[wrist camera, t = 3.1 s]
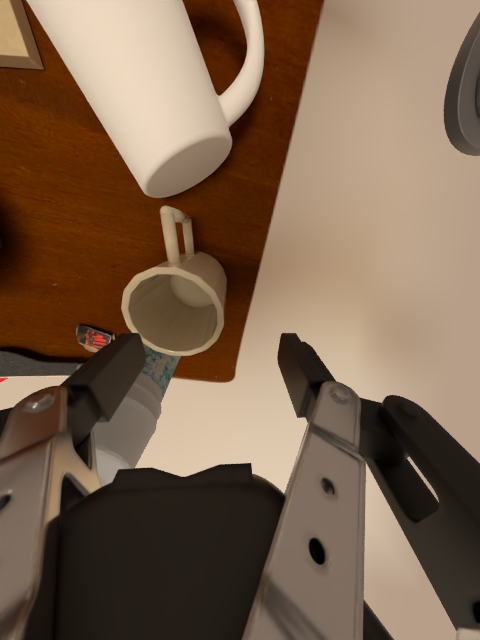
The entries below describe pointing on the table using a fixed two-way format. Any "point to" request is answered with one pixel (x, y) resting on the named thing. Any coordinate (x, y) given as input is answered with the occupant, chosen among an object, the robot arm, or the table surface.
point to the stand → (17, 37)
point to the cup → (177, 295)
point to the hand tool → (33, 367)
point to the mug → (154, 83)
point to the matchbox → (92, 338)
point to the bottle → (133, 417)
